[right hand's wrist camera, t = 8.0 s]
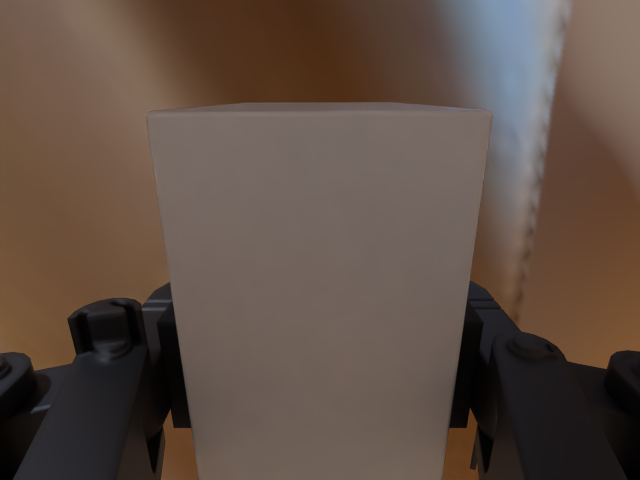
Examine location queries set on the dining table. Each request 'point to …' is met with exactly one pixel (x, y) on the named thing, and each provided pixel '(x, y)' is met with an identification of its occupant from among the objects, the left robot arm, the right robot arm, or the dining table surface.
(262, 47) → the dining table surface
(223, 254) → the bar
